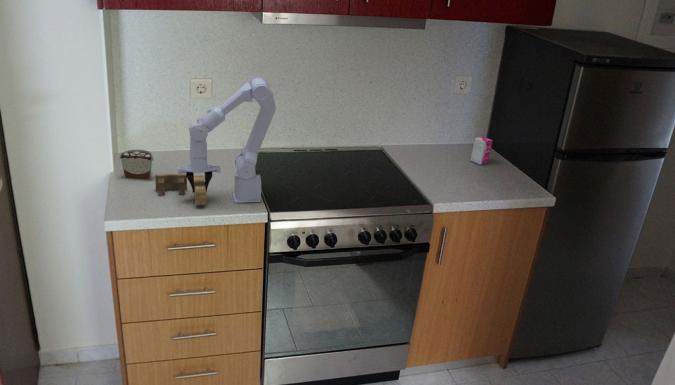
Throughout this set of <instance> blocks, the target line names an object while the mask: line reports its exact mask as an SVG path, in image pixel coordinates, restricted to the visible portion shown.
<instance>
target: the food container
mask: <svg viewBox="0 0 675 385" xmlns="http://www.w3.org/2000/svg"><path fill="white" fill-rule="evenodd" d="M118 159H119V160H121V161H120V162H121V165H122V170H123V178H124V180H133V181H149V182H150V181H151V179H152V165H153V164H152V163H153V162H154V160H155V158H154V155H153V153H152V152H150V151H149V150H146V149H130V150H125V151H123V152H121V153H120V155H119V158H118Z"/></svg>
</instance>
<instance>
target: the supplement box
mask: <svg viewBox="0 0 675 385" xmlns="http://www.w3.org/2000/svg"><path fill="white" fill-rule="evenodd" d="M493 141H494V140H493V139H490V138H488V137H486V136H479V137H475V139H474V143H473V146H472V152H471V157H470V161H471V163H473V164H475V163H476V164H475V165H477V164H478V166H484V165H487V164H488V162H489V158H490V155H491V150H492V145H493ZM470 161H469V162H470Z"/></svg>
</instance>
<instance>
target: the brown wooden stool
mask: <svg viewBox="0 0 675 385" xmlns="http://www.w3.org/2000/svg"><path fill="white" fill-rule="evenodd" d="M154 180H155V182H154V183H155V192H158V196H159V197H163V196H165V192H169V191H170V192H171V191H178V196H184V195H185V196H186V194H185V191H188V179H187V176H186V173H181V174H178V173H174V174H173V173H170V174H169V173H168V174H167V173H166V174H163V173H162V174H155V175H154Z"/></svg>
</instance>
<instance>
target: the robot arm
mask: <svg viewBox="0 0 675 385" xmlns="http://www.w3.org/2000/svg"><path fill="white" fill-rule="evenodd" d="M254 100H255V102H257V103H258V105H259V107H260V109H259V110H258V114H257V116H256V118H255V121H254V124H253V125H252V129H251V131H250V134H249V136H248V138H247V141H246V144H245V146H244V148H242V150H241V152H240V153H239V154H238V155H237V156H236V157H235V160H234V165H235V166H236V171H235V173H234V192H232V198H233V201H234V203H235V204H238V203H241V204H242V203H243V204H244V203H261V202H262V176H261V175H260V174H256V164H257V163H258V162H257V161H258V154H259V152H260V150H261V146H262V144H263V143H264V142H263V141H264V140H265V138H266V135H267V133H268V130H269V127H270V126H271V122H272V121H273V118H274V114H275V113H276V110H277V106H276V103H275V102H276V101H275V98H274V93H273V91H272V90H271V88H270V86H269V83H268V82H267V81H266V79H265V78H264V77H261V76H254V77H253V78H251V79H250V80H249V81H247V82H246V83H244V84H243V85H242V86H241V87H240V88H239V89H238V90H237V91H236V92H235V93H234V94H232V95H231V96H230V97H229V98H227V99H226V101H224V103H222V104H221V105H220V106H213V107H212V108H211V107H209V108H207V110H206V111H207V112H205V113H204V114H203V115H202V116H200V117H197V118H196V120H194V121H192V122H191V123H189V127H188V131H189V142H190V143H189V155H190V160H189V161H190V165H185V166H177V174H186V176H187V181H188V182H189V184H190V187H191V189H192V193H193V194H194V193H195V188H194V176H195V175H194V174H201V173H204V182H205V189H206V193H208V188H209V185H210V182H211V180H212V178H213V173H218V174H221V165H215V164H214V165H212V164H208V142H207V138H208V135H209V133H211V132H212V131H213V130H215V129H216V128H217V127H218V126H219V125H221V124H222V123H223V122H225V120H226V115H228V114H229V113H230V112H232V111H233V110H235V109H236V108H237V107H239V106H240V105H242V104H243V103H245V102H249V103H253V102H254Z"/></svg>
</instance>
